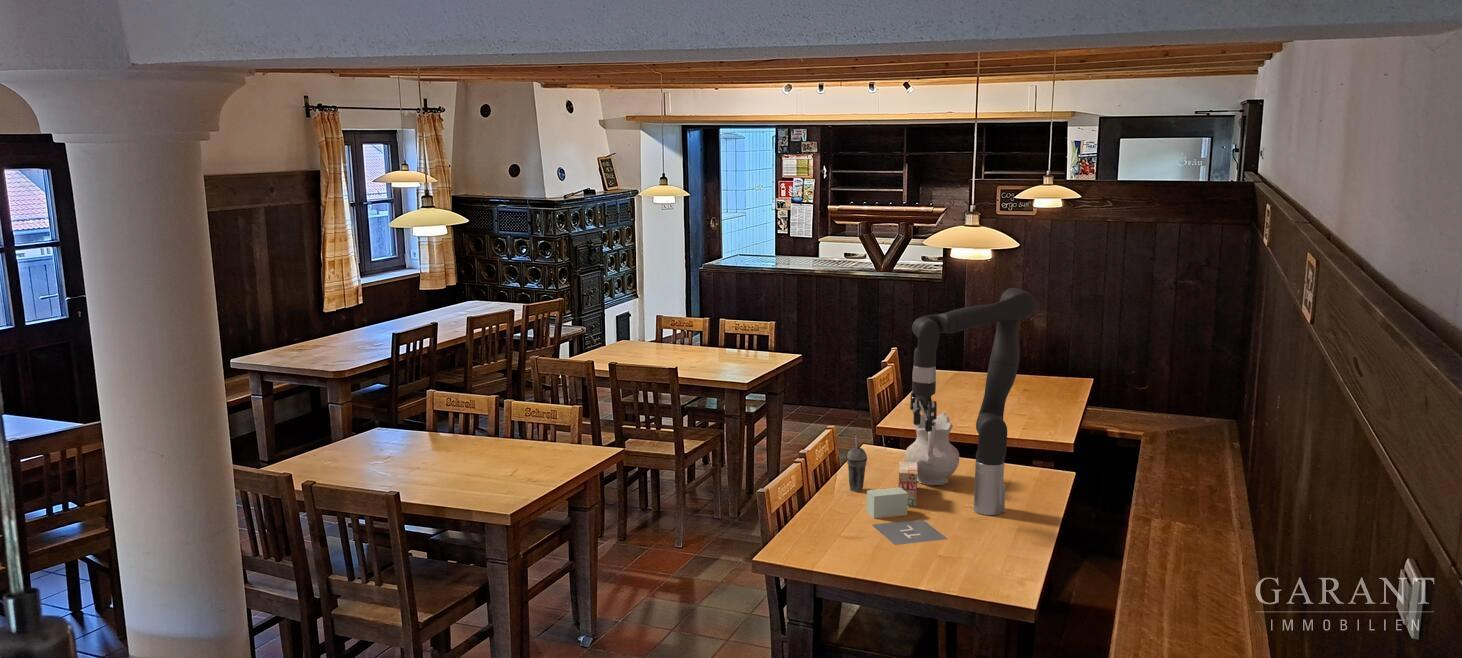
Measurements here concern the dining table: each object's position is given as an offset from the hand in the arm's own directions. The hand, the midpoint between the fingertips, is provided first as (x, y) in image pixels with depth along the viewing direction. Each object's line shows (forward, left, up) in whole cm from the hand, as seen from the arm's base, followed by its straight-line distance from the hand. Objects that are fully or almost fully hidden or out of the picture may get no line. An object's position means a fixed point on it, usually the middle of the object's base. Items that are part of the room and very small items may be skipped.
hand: (922, 427), depth 341 cm
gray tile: (+10, +13, -30) cm, 34 cm away
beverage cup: (+10, -30, -30) cm, 44 cm away
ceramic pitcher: (-20, -31, -30) cm, 48 cm away
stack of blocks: (-4, -19, -30) cm, 36 cm away
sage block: (+10, -4, -30) cm, 32 cm away
